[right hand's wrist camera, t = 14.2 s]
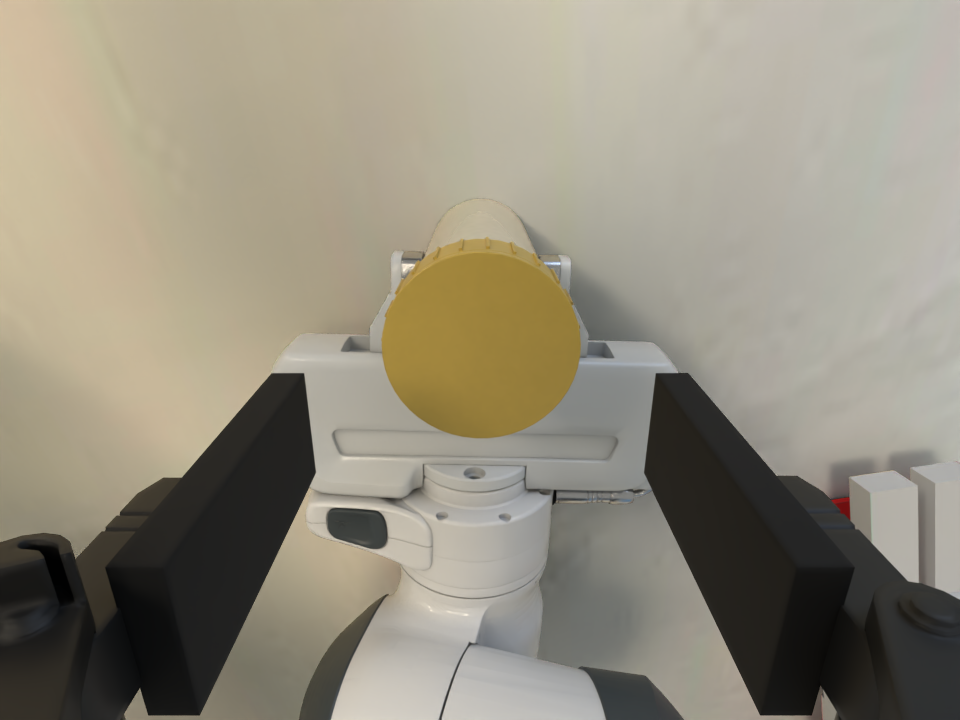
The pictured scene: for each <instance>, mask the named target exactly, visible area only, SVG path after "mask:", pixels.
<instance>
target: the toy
mask: <svg viewBox="0 0 960 720" xmlns="http://www.w3.org/2000/svg"><path fill="white" fill-rule="evenodd" d="M849 495H850V497H846V498H840V499H834V500H831V501H832V502H833V503H834V504H835V505H836V506H837V507H838V508H839V509H840V513H841V514H845V515H846V517H847V518H848V519H849V520H850V521H851V522H852V523H853V524H854V525H855V529H859V530H860V531H861V532H862V533H863V534H864V535H865V536H866V538H867V539H868V540H869V541H870V542H871V543H872V544H873V545H874V546H875V547H876V548H877V549H878V550H879V551H880V552H881V553H882V554H883V555H884V556H885V557H886V559H887V560H888V561H889V562H890V563H891V564H892V565H893V566H894V567H895V568H896V569H897V570H898V571H899V572H900V573H901V574H902V575H903V576H904V577H905V579H906V580H907V581H909V582H916V583H922V584H925V585H928V586H931V587H934V588H936V589H939V590H942V591H945V592H947V593H948V594H950V595H952V596H954V597H956V598H958V599H960V463H958V462H957V461H951V462H944V463H938V464H931V465H924V466H918V467H911V468H910V480H908V479H907V478H905V477H904V476H902V475H900V474H899V473H897V472H896V471H894V470H891V471H884V472H878V473H871V474H864V475H858V476H851V477H849ZM821 702H822V720H834V719H835V716H836V713H837V711H836V710H835V708H834V706H833V705H832V703H831V702H830V700H829V698H828V697H827V695H826V693H825V692H824V690H823V694H821Z"/></svg>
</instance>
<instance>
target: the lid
mask: <svg viewBox="0 0 960 720" xmlns="http://www.w3.org/2000/svg"><path fill="white" fill-rule="evenodd" d="M394 294H396V297H395V299H394V300H392V302H391V304H390V306H389V308H388V309H387V311H386V313H385V316H384V317H386V319H385V323H384V328H383V332H382V338H381V341H382V358H383V362H384V367H385V371H386V374H387V376H388V379H389V381H390V383H391V385H392V387H393V389H394V391H395V393H396V394H397V395H398V397H399V398H400V400H401V401H402V402H403V403H404V404H405V406H406V407H407V408H408V409H409V410H410V411H411V412H412V413H414V414H415V415H416V416H417V417H418V418H420V419H421V420H423V421H424V422H426V423H427V424H429V425H431V426H433V427H435V428H437V429H439V430H441V431H444V432H446V433H449V434H452V435H457V436H461V437H468V438H495V437H501V436H506V435H510V434H513V433H516V432H519V431H521V430H524V429H526V428H528V427H530V426H532V425H534V424H535V423H537V422H538V421H540V420H541V419H543V418H544V417H545V416H546V415H548V414H549V413H550V412H551V411H552V410H553V409H554V408H555V407H556V406H557V405H558V404H559V403H560V402H561V400H562V399H563V398H564V396H565V395H566V393H567V392H568V390H569V388H570V386H571V384H572V382H573V380H574V378H575V375H576V372H577V369H578V365H579V360H580V352H581V338H580V330H579V329H580V325H579V323H578V321H577V318H576V315H575V312H574V310H573V307H572V305H574V304H573V302H572V300H571V298H570V296H569V294H568V292H567V290H566V289H563V288H562V286H561V284H560V281H559V279H558V277H557V275H556V273H555V271H554V270H553V269H551V270H550V269H549V268H548V267H547V266H546V265H545V264H544V263H543V262H542V261H541V260H540V259H538V257H537V255H536V253H534V252H533V254H532V253H530V252H528V251H526V250H525V249H523V248H521V247H518V246H516V245H514V242H510V243H507V242H503V241H500V240H492V239H489V237H486V239H470V240H464V239H460V241H459V242H455V243H452V244H449V245H446V246H444V247H442V248H440V247H437V248H436V251H434V252H432V253H431V254H429V255H428V256H426V257H425V258H424V259H423V260H421V261H419V260H418V261H417V262H416V264H415V266H414V268H413V269H412V270H411V271H410V273H409V274H408V275H407V277H406V278H405V280H404V279H403V278H402V280H401V282H400V284H399V286H398V287H397V289H396V291H395V293H394Z"/></svg>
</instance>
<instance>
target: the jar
mask: <svg viewBox="0 0 960 720" xmlns="http://www.w3.org/2000/svg"><path fill="white" fill-rule="evenodd" d="M486 237H489V239H492V240H500V241H503V242H507V243H510V242H514V245H516V246H518V247H521V248H523V249H525V250H526V251H528V252H530V253H532V254H533V252H534V253H536V251H535V249H534V247H533V245H532V243H531V240H530V238H529V236H528V234H527V231H526V229H525V227H524V225H523V223H522V221H521V220H520V219H519V217H518V216H517V215H516V214H515V213H514V212H513V211H512V210H511V209H510V208H508V207H507V206H505V205H504V204H502V203H499V202H497V201H494V200H490V199H472V200H468V201H464V202H462V203H460V204H458V205H456V206H454V207H453V208H451V209H450V210H449V211H448V212H447V213H446V214H445V215H444V216H443V217H442V219H441V220H440V222H439V224H438V225H437V227H436V230H435V232H434V234H433V237H432V239H431V241H430V244H429V246H428V248H427V250H426V253H425V255H424V257H423V259H424V258H425V257H426V256H428V255H429V254H431V253H432V252H434V251H436V248H437V247H440V248H442V247H444V246H446V245H449V244H452V243H455V242H459V241H460V239H464V240H470V239H486ZM536 255H537V254H536ZM537 257H538V256H537ZM538 259H539V258H538Z"/></svg>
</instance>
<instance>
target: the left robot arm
mask: <svg viewBox="0 0 960 720" xmlns="http://www.w3.org/2000/svg"><path fill="white" fill-rule="evenodd" d="M424 255H425V253H424V252H416V251H394V252H393V254H392V255H391V264H390V267H391V291H390V292H389V294H388V296H387V298H386V300H385V301H384V303H383V305H382V307H381V308H380V310H379V312H378V314H377V316H376V317H375V319H374V321H373V323H372V325H371V326H370V328H369V335H363V334H323V333H304V334H300V335H299V336H297V337H296V338H295V339H294V340H293V341H292V342H291V343H290V344H289V345H288V346H287V347H286V348H285V349H284V350H283V351H282V352H281V354H280V355H279V357H278V358H277V359H276V361H275V363H274V365H273V367H272V371H271V374H272V373H304V375H305V384H306V392H307V400H308V409H309V417H310V425H311V434H312V442H313V451H314V459H315V467H316V474H315V476H314V478H313V480H312V482H311V485H310V487H309V488H311V492H310V495H309V499H308V503H307V507H306V523H307V527H308V529H309V530H310V531H311V532H312V533H313V534H315V535H317V536H319V537H321V538H325V539H328V540H332V541H335V542H339V543H342V544H346V545H349V546H353V547H356V548H359V549H362V550H366V551H369V552H372V553H374V554H377V555H380V556H383V557H385V558H388V559H390V560H393V561H395V562H397V563H399V564H400V568H401V579H400V583H399V586H398V588H397V591H396V592H395V593H394V594H393V595H389V594H386V595H385V596H383V597H381V598H380V599H378V600H377V601H376V602H374V603H373V604H372V605H371V606H370V607H368V608H367V609H366V610H365V611H364V612H363V613H362V614H361V615H360V616H359V617H357V618H356V619H355V620H354V621H353V622H352V623H351V624H350V625H349V626H348V627H347V628H346V629H345V630H344V631H343V632H342V633H341V634H340V635H339V636H338V637H337V638H336V639H335V641H334V642H333V643H332V644H331V646H330V647H329V649H328V650H327V652H326V653H325V655H324V656H323V658H322V660H321V661H320V663H319V665H318V667H317V669H316V671H315V673H314V675H313V677H312V679H311V681H310V683H309V686H308V688H307V691H306V694H305V697H304V700H303V704H302V708H301V712H300V717H299V720H684V719H683V718H682V717H681V715H680V714H679V713H678V711H677V710H676V709H675V708H674V706H673V705H672V704H671V703H670V702H669V701H668V700H667V698H666V697H665V696H664V695H663V694H662V693H661V692H660V690H659V689H658V688H657V687H656V686H655V685H654V684H653V683H652V682H651V681H650V680H649V679H648V678H647V677H646V676H644V675H637V674H630V673H623V672H616V671H609V670H602V669H595V668H589V667H583V666H582V667H579V668H573V667H569V666H565V665H561V664H557V663H553V662H549V661H544V660H540V659H537V655H538V649H539V643H540V635H541V627H542V617H543V600H542V594H541V590H540V587H539V580H540V578H541V577H542V574H543V572H544V569H545V567H546V563H547V558H548V550H549V538H550V527H551V515H552V505H554V503H566V504H585V503H591V502H592V503H595V502H602V503H609V504H614V505H623V504H629V503H632V502H633V500H634V498H636V497H641V496H643V495H646V494H647V493H649V492H651V491H652V489H651V487H650V485H649V482H648V480H647V478H646V476H645V474H644V467H645V459H646V451H647V442H648V434H649V425H650V417H651V409H652V400H653V392H654V384H655V375H656V373H679V372H678V371H677V369H676V367H675V366H674V364H673V363H672V361H671V360H670V359H669V358H668V356H667V355H666V354H665V353H664V352H663V351H662V350H661V349H660V348H659V347H658V346H657V345H656V344H654V343H652V342H637V341H597V340H588V339H589V334H588V332H587V330H586V328H585V326H584V323H583V321H582V319H581V317H580V315H579V313H578V311H577V309H576V307H575V305H572V307H573V310H574V312H575V315H576V318H577V321H578V323H579V325H580V329H579V330H580V338H581V352H580V360H579V365H578V369H577V372H576V375H575V378H574V380H573V382H572V384H571V386H570V388H569V390H568V392H567V393H566V395H565V396H564V398H563V399H562V400H561V402H560V403H559V404H558V405H557V406H556V407H555V408H554V409H553V410H552V411H551V412H550V413H549V414H548V415H546V416H545V417H544V418H543V419H541V420H540V421H538V422H537V423H535V424H534V425H532V426H530V427H528V428H526V429H524V430H521V431H519V432H516V433H513V434H510V435H506V436H501V437H495V438H468V437H461V436H457V435H452V434H449V433H446V432H444V431H441V430H439V429H437V428H435V427H433V426H431V425H429V424H427V423H426V422H424V421H423V420H421V419H420V418H418V417H417V416H416V415H415V414H414V413H412V412H411V411H410V410H409V409H408V408H407V407H406V406H405V404H404V403H403V402H402V401H401V400H400V398H399V397H398V395H397V394H396V393H395V391H394V389H393V387H392V385H391V383H390V381H389V379H388V376H387V374H386V371H385V367H384V362H383V358H382V341H381V338H382V332H383V328H384V323H385V319H386V317H384V316H385V313H386V311H387V309H388V308H389V306H390V304H391V302H392V300H394V299H395V297H396V294H394V293H395V291H396V289H397V287H398V286H399V284H400V282H401V280H402V278H403V279H404V280H405V278H406V277H407V275H408V274H409V273H410V271H411V270H412V269H413V268H414V266H415V264H416V262H417V261H418V260H419V261H421V260H423V257H424ZM538 258H539V259H540V260H541V261H542V262H543V263H544V264H545V265H546V266H547V267H548V268H549V269H550V270H551V269H553V270H554V271H555V273H556V275H557V277H558V279H559V281H560V284H561V286H562V288H563V289H566V290H567V292H568V294H569V292H570V280H571V259H570V258H569V257H568V255H538ZM569 296H570V295H569ZM570 298H571V297H570ZM571 300H572V299H571ZM572 302H573V301H572ZM573 304H574V303H573ZM633 489H638V490H633Z"/></svg>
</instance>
